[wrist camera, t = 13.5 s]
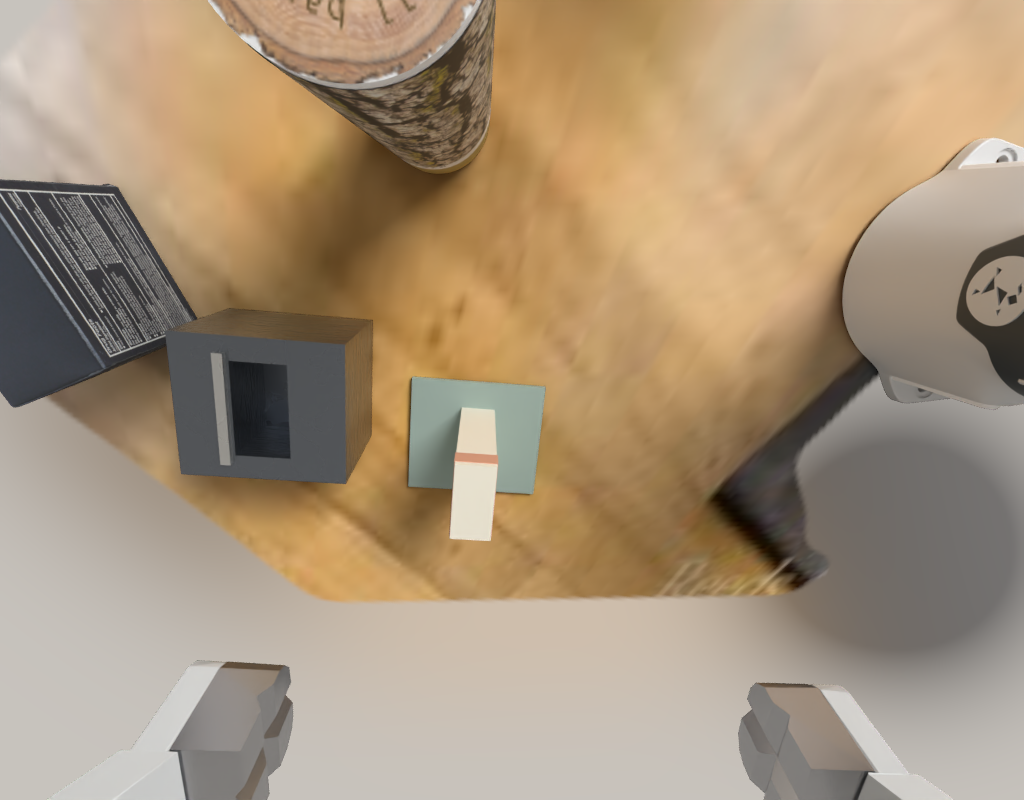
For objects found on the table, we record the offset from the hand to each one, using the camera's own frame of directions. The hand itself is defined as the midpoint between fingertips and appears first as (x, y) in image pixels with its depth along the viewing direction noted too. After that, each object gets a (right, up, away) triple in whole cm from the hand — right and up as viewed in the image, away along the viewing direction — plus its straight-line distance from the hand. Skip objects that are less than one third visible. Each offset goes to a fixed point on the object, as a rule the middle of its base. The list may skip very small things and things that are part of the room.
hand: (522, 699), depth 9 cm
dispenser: (-16, +7, +30) cm, 35 cm away
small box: (-27, +14, +28) cm, 41 cm away
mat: (-3, +2, +32) cm, 33 cm away
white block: (-3, +2, +32) cm, 32 cm away
